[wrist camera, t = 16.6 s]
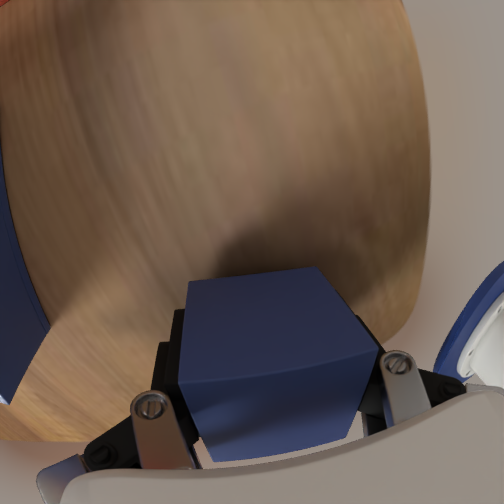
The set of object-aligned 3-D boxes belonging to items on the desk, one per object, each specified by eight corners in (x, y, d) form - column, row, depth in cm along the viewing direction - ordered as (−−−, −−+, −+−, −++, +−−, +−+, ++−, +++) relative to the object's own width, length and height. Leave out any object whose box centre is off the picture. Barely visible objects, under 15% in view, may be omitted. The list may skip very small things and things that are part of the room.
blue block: (316, 265, 11) (380, 347, 6) (309, 356, 13) (345, 438, 8) (188, 280, 10) (177, 382, 6) (208, 370, 12) (213, 463, 7)
